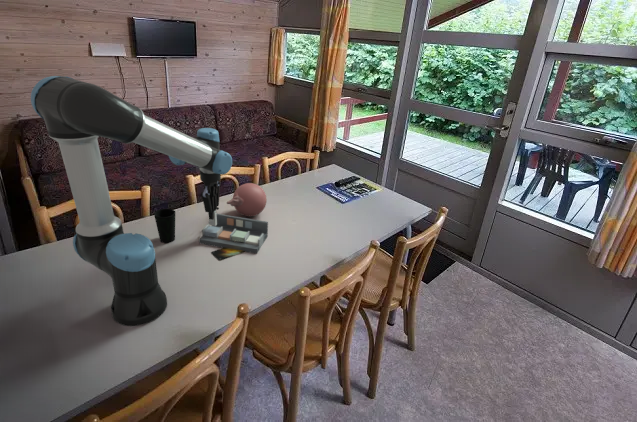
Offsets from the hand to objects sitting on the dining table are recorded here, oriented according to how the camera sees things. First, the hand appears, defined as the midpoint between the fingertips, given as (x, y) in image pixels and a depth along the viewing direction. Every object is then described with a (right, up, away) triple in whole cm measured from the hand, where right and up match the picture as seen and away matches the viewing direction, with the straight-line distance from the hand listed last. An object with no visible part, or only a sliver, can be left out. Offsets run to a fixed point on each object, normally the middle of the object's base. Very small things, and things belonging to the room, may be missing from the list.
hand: (213, 224), depth 147 cm
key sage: (+11, -6, 0) cm, 12 cm away
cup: (-18, -6, -1) cm, 19 cm away
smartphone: (+9, -11, -4) cm, 14 cm away
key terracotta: (+5, -6, +1) cm, 8 cm away
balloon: (+9, +3, +23) cm, 24 cm away
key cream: (+16, -8, 0) cm, 18 cm away
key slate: (-1, -4, +2) cm, 4 cm away
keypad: (+8, -6, +3) cm, 11 cm away
